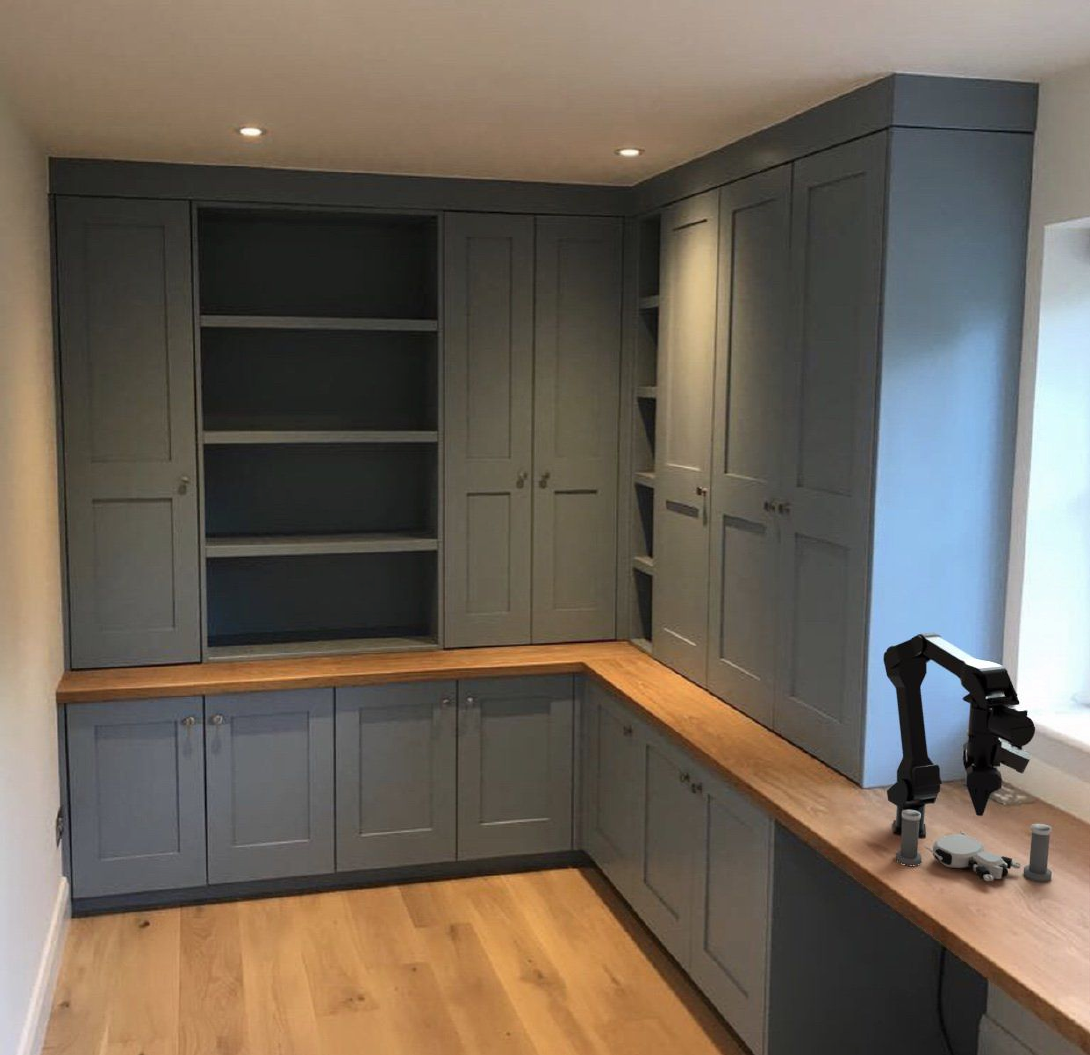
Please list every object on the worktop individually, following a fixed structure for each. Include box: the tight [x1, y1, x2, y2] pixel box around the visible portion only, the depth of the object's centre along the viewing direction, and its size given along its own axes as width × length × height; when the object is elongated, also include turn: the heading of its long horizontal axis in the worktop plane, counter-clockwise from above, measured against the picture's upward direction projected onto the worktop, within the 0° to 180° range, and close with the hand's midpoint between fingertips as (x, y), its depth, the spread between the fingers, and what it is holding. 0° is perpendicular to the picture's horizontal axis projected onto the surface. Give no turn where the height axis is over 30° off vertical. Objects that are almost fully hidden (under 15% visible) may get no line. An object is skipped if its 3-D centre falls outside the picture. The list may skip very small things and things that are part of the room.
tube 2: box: [1023, 823, 1052, 883], centre depth 239 cm, size 5×5×10 cm
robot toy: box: [924, 831, 1021, 882], centre depth 242 cm, size 12×4×15 cm
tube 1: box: [894, 810, 923, 867], centre depth 245 cm, size 5×5×10 cm
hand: (978, 806), depth 240 cm, fingers open, 9 cm apart
